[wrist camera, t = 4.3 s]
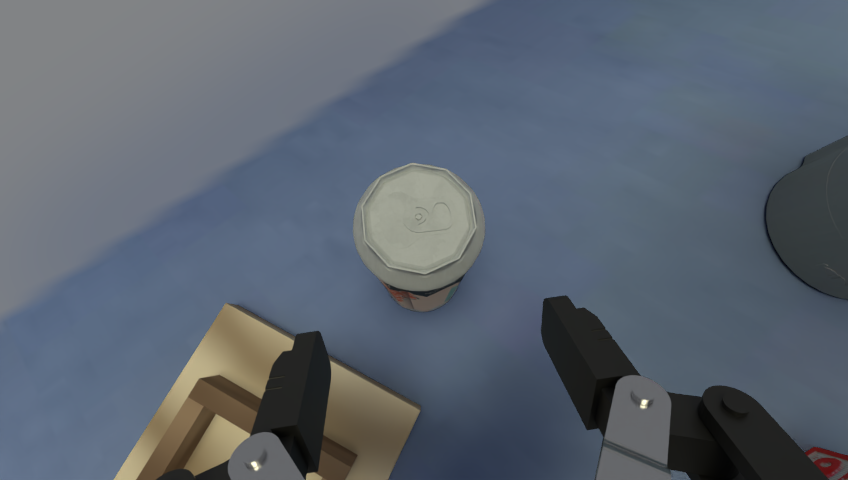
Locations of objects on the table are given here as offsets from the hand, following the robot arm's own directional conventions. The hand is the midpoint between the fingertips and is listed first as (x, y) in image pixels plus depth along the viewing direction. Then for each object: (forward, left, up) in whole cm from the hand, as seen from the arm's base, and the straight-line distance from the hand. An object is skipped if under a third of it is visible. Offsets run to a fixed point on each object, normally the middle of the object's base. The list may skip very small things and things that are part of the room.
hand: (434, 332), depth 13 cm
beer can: (-3, -2, -10) cm, 11 cm away
